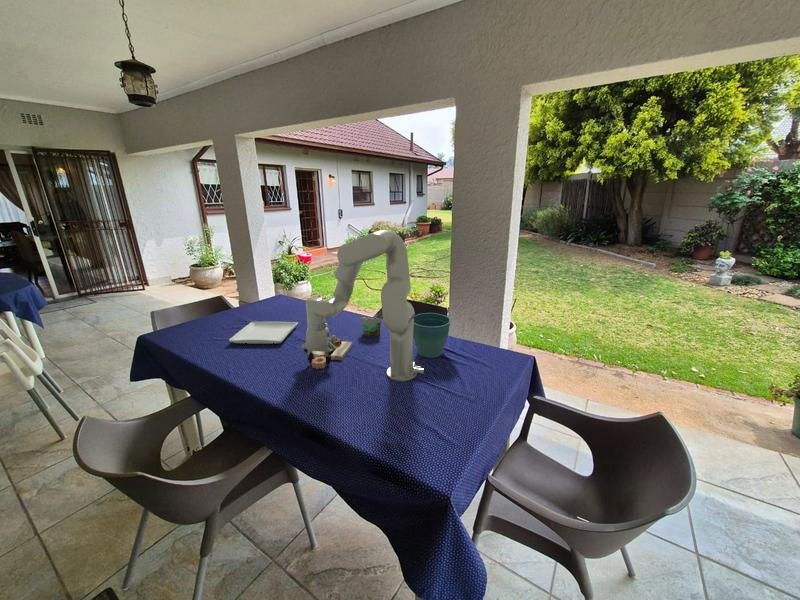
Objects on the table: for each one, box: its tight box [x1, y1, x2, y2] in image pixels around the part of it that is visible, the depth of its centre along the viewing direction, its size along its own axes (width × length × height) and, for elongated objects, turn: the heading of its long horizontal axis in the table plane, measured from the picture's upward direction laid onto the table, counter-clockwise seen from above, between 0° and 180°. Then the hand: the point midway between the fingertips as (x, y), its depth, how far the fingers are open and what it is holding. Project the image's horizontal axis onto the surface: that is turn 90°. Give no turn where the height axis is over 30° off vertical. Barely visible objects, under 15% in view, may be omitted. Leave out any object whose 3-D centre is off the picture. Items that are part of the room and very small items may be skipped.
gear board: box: [312, 334, 353, 361], centre depth 161 cm, size 16×16×6 cm
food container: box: [360, 314, 383, 338], centre depth 179 cm, size 12×6×10 cm, turn 62°
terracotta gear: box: [311, 356, 329, 370], centre depth 149 cm, size 7×7×2 cm
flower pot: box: [413, 312, 451, 359], centre depth 158 cm, size 18×18×17 cm
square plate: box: [228, 320, 299, 345], centre depth 181 cm, size 27×27×4 cm
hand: (319, 362), depth 149 cm, fingers closed on terracotta gear, 7 cm apart
